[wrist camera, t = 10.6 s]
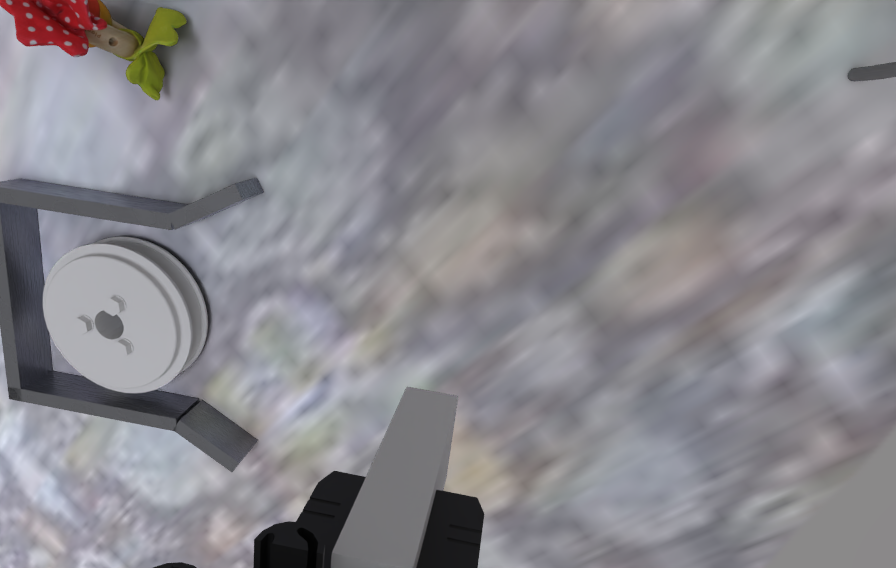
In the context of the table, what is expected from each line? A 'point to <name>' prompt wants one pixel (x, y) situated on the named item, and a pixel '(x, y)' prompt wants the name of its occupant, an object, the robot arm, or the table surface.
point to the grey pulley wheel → (125, 313)
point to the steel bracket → (26, 334)
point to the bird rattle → (97, 34)
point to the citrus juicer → (873, 72)
